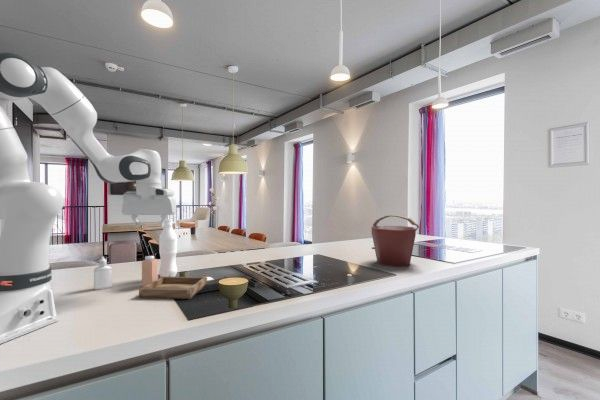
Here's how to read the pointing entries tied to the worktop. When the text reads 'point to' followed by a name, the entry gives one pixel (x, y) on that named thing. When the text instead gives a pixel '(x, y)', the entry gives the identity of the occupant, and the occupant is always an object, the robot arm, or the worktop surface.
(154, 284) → the tray
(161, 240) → the water bottle
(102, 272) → the eye dropper bottle
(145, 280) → the shaker
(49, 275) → the robot arm
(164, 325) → the worktop surface
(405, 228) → the bucket
